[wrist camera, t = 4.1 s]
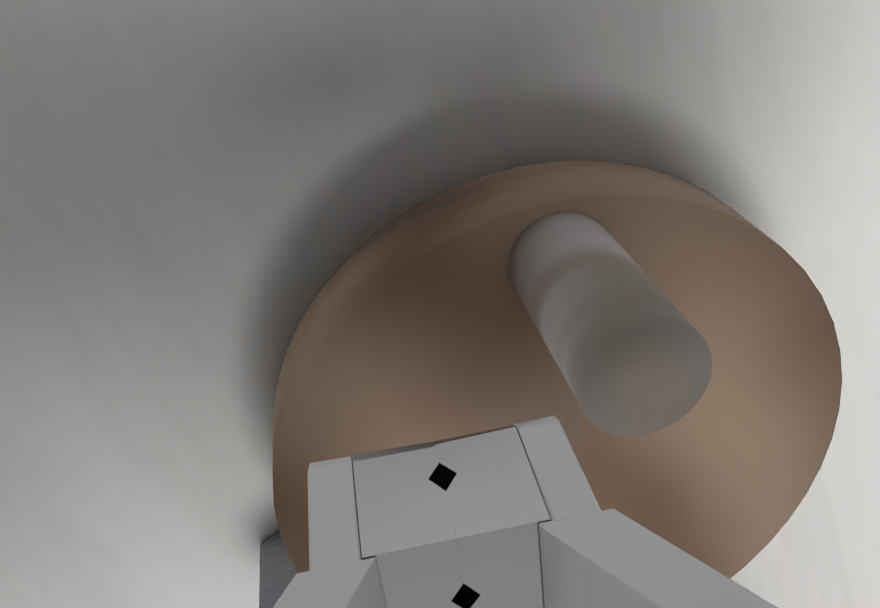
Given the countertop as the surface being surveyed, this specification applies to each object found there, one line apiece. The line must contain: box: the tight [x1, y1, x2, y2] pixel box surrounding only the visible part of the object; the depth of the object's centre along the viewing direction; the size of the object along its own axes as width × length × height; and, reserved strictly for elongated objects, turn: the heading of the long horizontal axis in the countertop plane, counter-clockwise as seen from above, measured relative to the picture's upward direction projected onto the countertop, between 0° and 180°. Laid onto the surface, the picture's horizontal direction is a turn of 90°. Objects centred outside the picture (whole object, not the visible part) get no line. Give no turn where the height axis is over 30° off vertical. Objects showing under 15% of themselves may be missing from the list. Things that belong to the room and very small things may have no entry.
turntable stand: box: [259, 531, 299, 608], centre depth 19 cm, size 12×8×4 cm, turn 126°
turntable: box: [273, 160, 842, 579], centre depth 17 cm, size 13×13×6 cm
